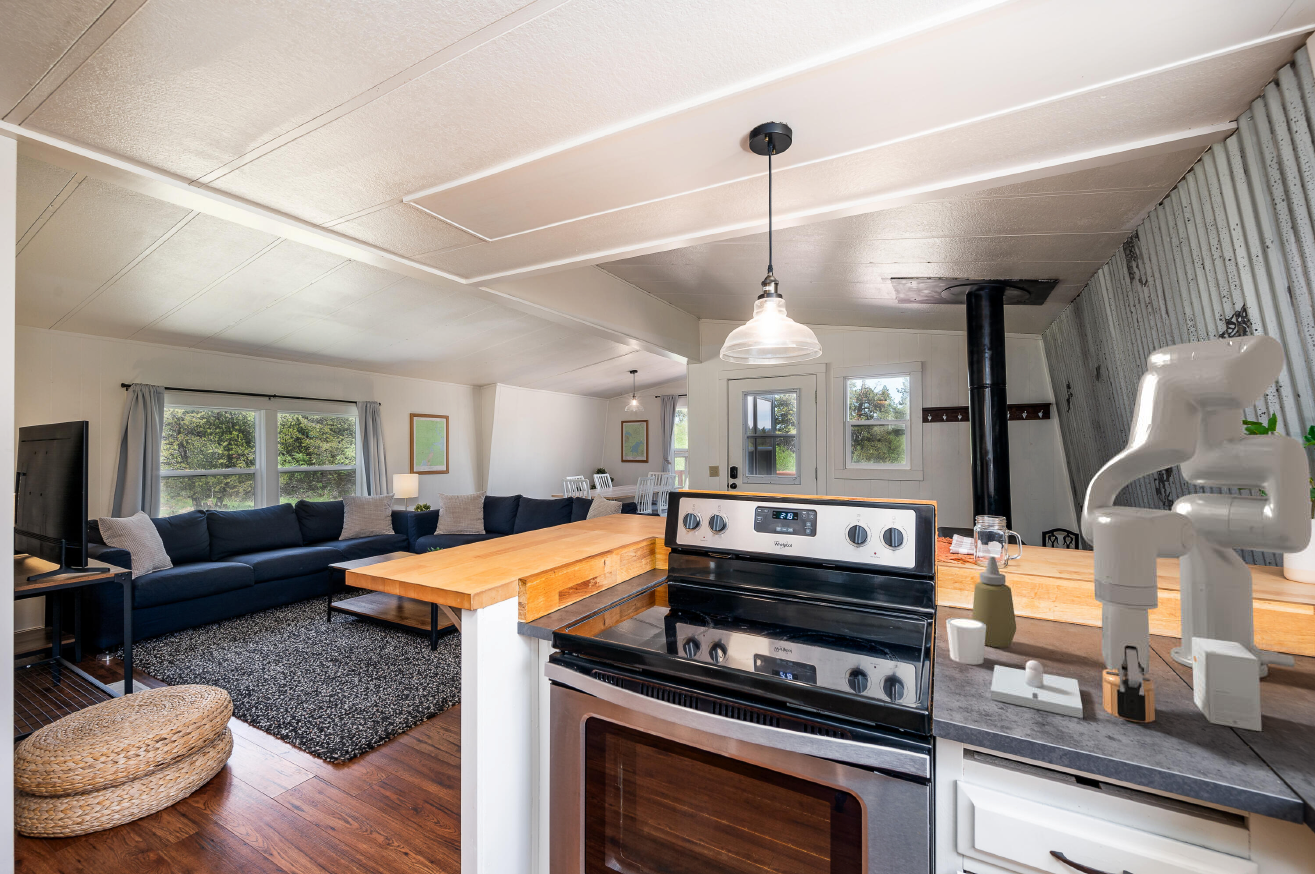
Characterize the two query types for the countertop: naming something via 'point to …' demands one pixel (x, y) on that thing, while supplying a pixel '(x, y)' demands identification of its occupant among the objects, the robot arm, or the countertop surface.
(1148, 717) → the cap
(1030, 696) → the knob base plate
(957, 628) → the white cup
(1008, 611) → the squeeze bottle
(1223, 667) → the small box
